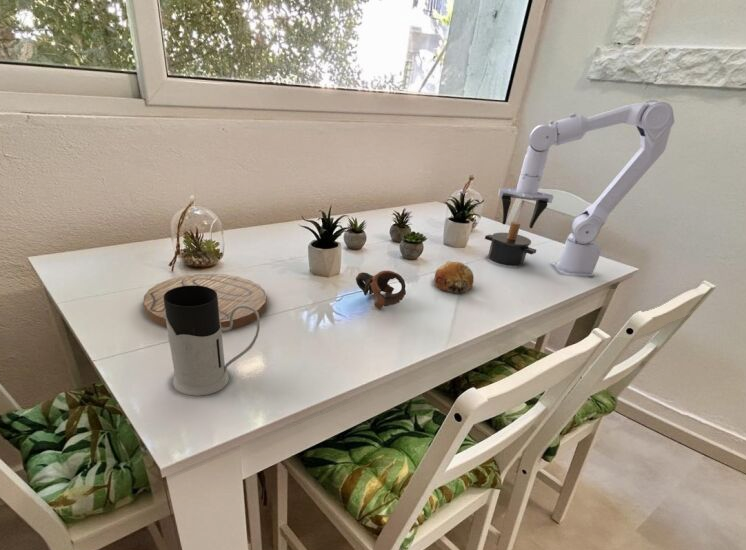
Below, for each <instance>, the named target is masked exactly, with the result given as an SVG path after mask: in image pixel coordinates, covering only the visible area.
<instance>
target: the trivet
mask: <svg viewBox="0 0 746 550" xmlns="http://www.w3.org/2000/svg"><path fill="white" fill-rule="evenodd" d="M190 285H196V286H204V287H208V288H211V289H213V290H214V291H216V293H217V297H218V308H219V319H220V323H221V327H222V328H226V327H229V326H230V315H231V312H232V310H233V309H234V308H235V307H236V306H238V305H242V304H244V305H249V306H252V307H253V308H255V309H256V310H257V312H258V314H259V318H260V317H262V315H263V314H264V312H266V310H267V305H268V303H267V302H268V298H267V293H266V290H265V289H264V288H263V287H262V286H261V285H260V284H258V283H256V282H254V281H253V280H250V279H247V278H244V277H241V276H237V275H231V274H224V273H222V274H221V273H195V274H187V275H181V276H177V277H173V278H169V279H166V280H164V281H161V282H159V283H157V284H155V285H153V286H152V287H150V288H149V289H148V290H147V291H146V293H145V294H144V295H143V301H142V304H143V308H144V309H143V310H144V312H145V315H146V316H147V317H148V319H149V320H151V321H152V322H154V324H156V325H159V326H161V327H164V328H167V324H166V318H165V303H164V294H165V293H166V292H167V291H169V290H171V289H173V288H177V287H181V286H190ZM256 320H257V316H256V314H255V312H254V311H252V310H251V309H248V308H239V309H238V310H236V311H235V312H234V314H233V325H232V328H231V329H230V330H233V329H237V328H240V327H242V326H243V327H244V326H245V325H248V324H251V323H252V322H254V321H256Z"/></svg>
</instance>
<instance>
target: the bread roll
mask: <svg viewBox="0 0 746 550" xmlns="http://www.w3.org/2000/svg"><path fill="white" fill-rule="evenodd" d="M474 278H475V277H474V273H473V270H471V268H470V267H469V266H468V265H466V264H464V263H463V262H460V261H451V260H450V261H449V260H448V261H446V262H445V263H444V264H442V265H441V266H439V267H438V268H436V270H435V274H434V286H435V287H436V288H437V289H438V290H440V291H442V292H447V293H449V294H450V293H451V294H452V293H453V294H463V293H465V292H467V291H468V290H471V289H472V288H473V285H474V280H475V279H474Z"/></svg>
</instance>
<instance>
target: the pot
mask: <svg viewBox="0 0 746 550" xmlns="http://www.w3.org/2000/svg"><path fill="white" fill-rule="evenodd" d="M492 235H493V234H486V235H485V236H484V240H487V241H490V242H491V243H490V246H489V250H488V254H487V258H488V259H489V261H491V262H493V263H496V264H499V265H504V266H508V267H509V266H510V267H519V266H522V265H524V263H525V260H526V256H527V254H529V255H534V254H536V253H537V249H536V248H533V247H529V246H530V245H528V246H511V245H506V244H502V243H499V242H497V241H495V240H494V239H492Z"/></svg>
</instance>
